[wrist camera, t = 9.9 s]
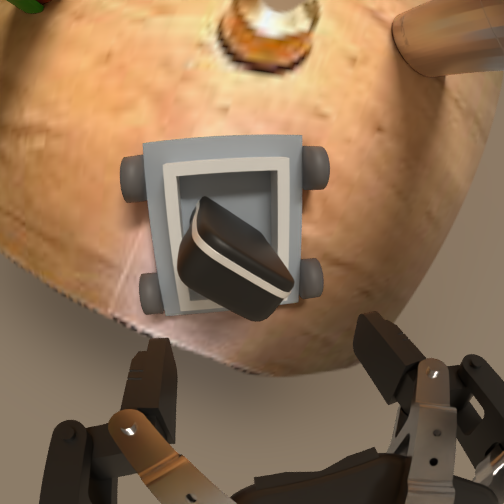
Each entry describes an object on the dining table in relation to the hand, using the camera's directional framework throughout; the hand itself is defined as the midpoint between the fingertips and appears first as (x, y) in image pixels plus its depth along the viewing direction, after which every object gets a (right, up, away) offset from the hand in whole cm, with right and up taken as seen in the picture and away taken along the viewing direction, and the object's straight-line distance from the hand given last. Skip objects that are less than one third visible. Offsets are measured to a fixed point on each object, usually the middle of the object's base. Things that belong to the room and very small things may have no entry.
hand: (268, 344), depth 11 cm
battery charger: (-3, +6, +15) cm, 16 cm away
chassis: (-3, +6, +16) cm, 18 cm away
